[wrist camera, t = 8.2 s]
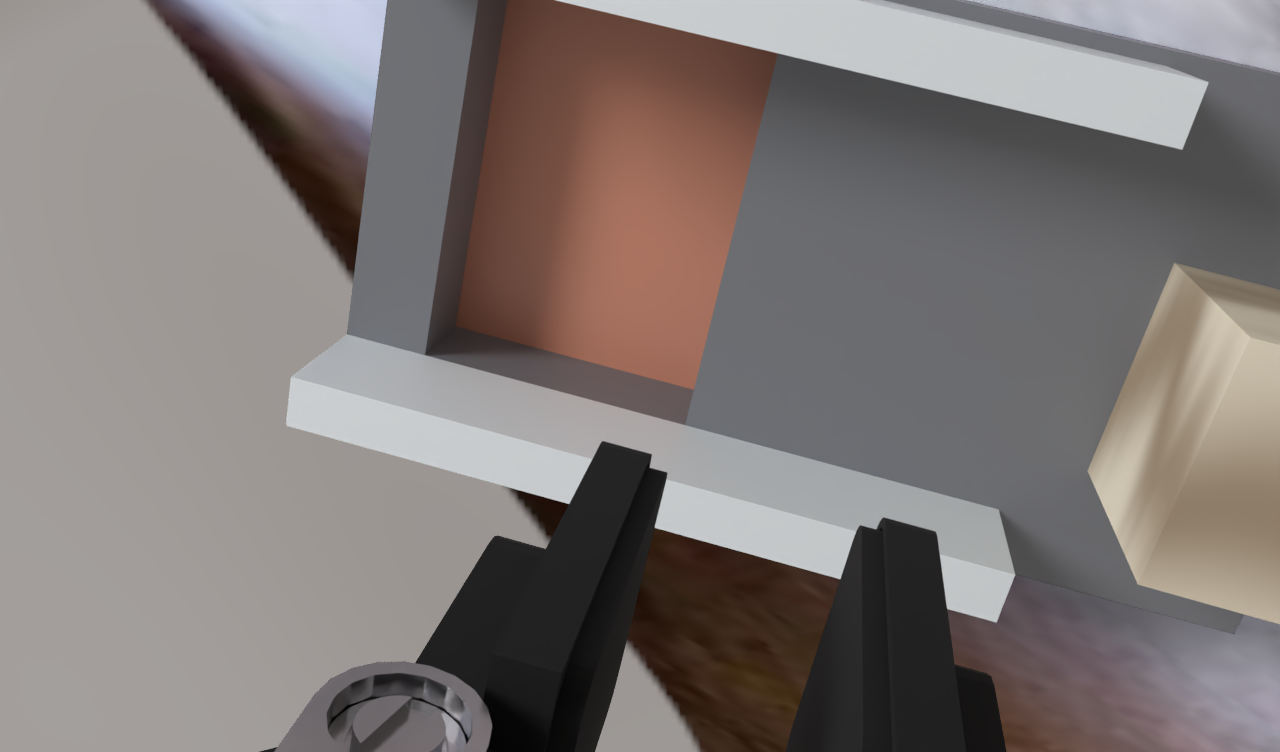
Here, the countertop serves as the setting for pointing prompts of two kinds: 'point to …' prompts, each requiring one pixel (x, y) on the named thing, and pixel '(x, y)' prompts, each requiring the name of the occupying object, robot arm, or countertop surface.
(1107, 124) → the gray tray
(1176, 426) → the block
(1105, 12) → the countertop surface
